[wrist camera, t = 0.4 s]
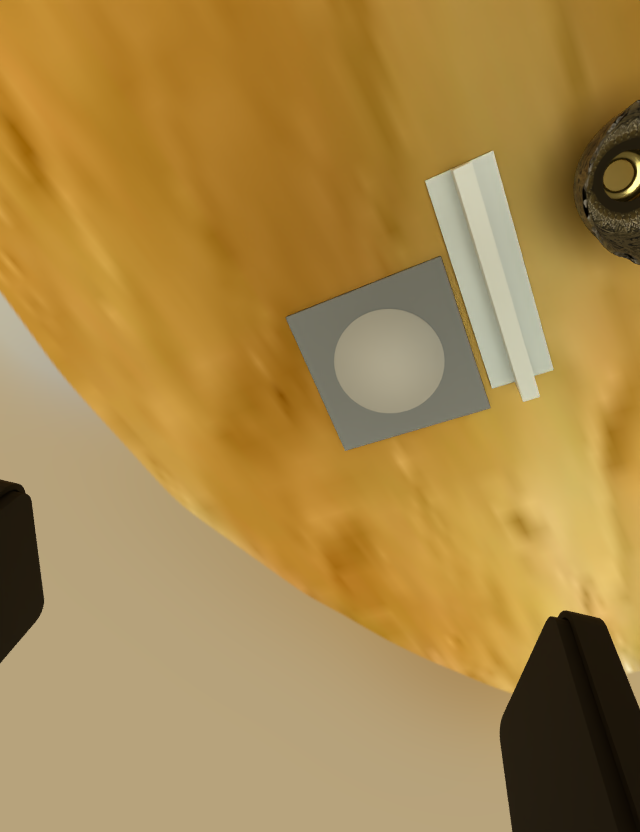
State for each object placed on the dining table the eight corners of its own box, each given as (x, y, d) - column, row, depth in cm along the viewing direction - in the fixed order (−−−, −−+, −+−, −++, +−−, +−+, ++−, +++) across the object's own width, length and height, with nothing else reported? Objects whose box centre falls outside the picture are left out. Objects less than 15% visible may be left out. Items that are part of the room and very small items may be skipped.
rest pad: (440, 255, 33) (440, 256, 33) (490, 406, 37) (490, 408, 37) (286, 316, 37) (285, 318, 36) (345, 448, 40) (345, 451, 40)
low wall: (491, 151, 30) (501, 148, 27) (551, 366, 35) (566, 389, 31) (425, 180, 32) (425, 182, 28) (491, 385, 36) (498, 409, 33)
